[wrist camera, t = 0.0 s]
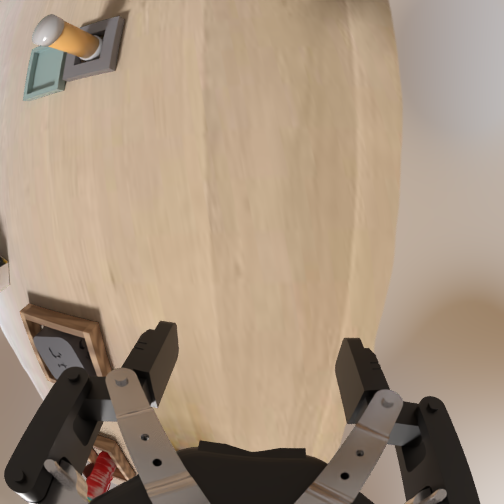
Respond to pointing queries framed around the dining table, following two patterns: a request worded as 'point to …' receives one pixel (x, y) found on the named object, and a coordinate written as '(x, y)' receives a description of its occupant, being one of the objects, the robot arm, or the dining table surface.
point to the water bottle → (99, 475)
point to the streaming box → (63, 351)
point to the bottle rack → (113, 458)
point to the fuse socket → (108, 52)
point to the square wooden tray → (66, 324)
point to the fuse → (67, 38)
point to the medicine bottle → (4, 274)
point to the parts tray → (44, 73)
